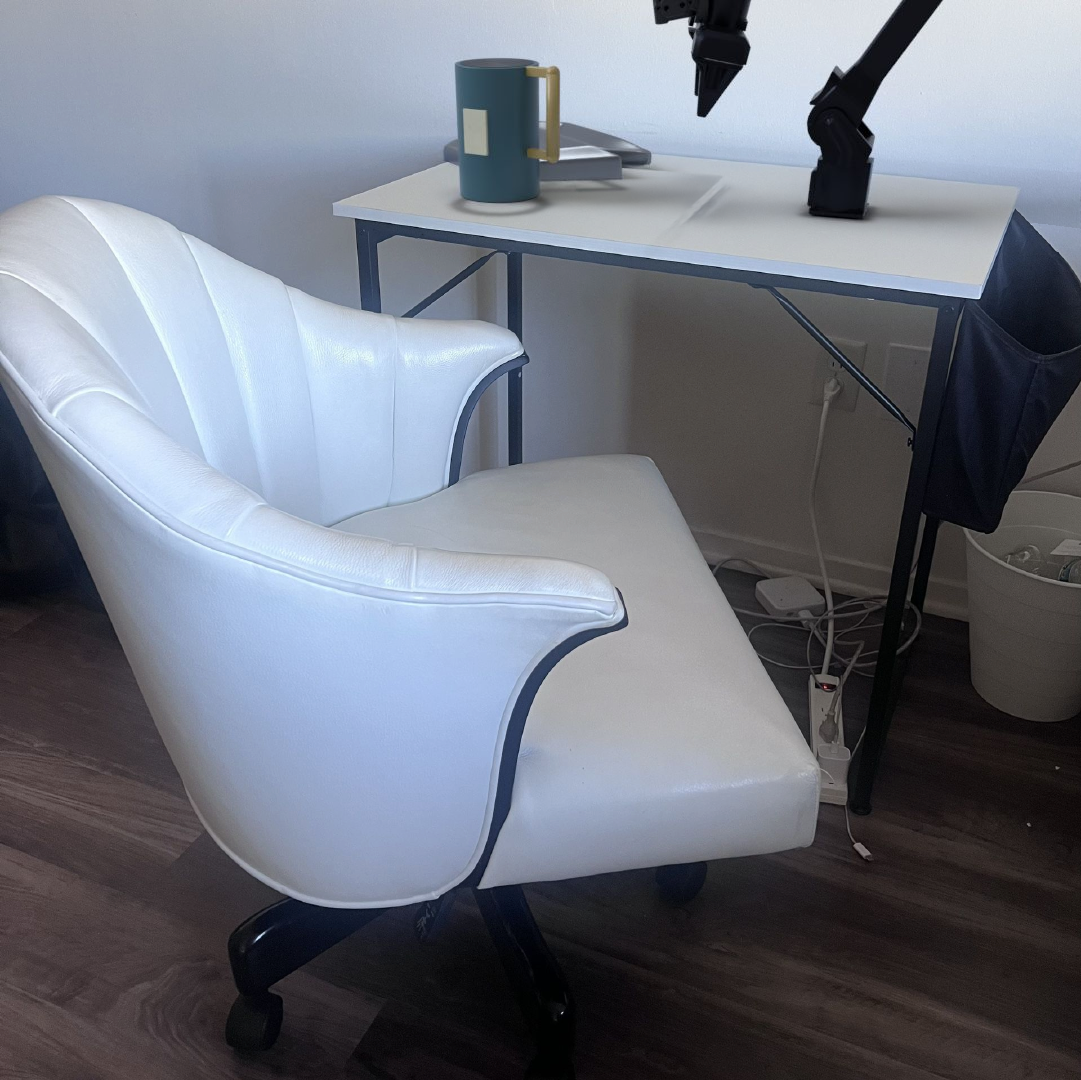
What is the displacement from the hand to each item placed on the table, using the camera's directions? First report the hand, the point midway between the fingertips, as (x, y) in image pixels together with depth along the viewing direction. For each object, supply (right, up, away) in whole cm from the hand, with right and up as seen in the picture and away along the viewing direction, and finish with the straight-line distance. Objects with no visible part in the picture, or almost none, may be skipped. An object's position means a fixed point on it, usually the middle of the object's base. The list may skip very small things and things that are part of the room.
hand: (699, 106), depth 127 cm
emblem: (-19, -1, +21) cm, 28 cm away
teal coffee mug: (-24, -10, +2) cm, 26 cm away
